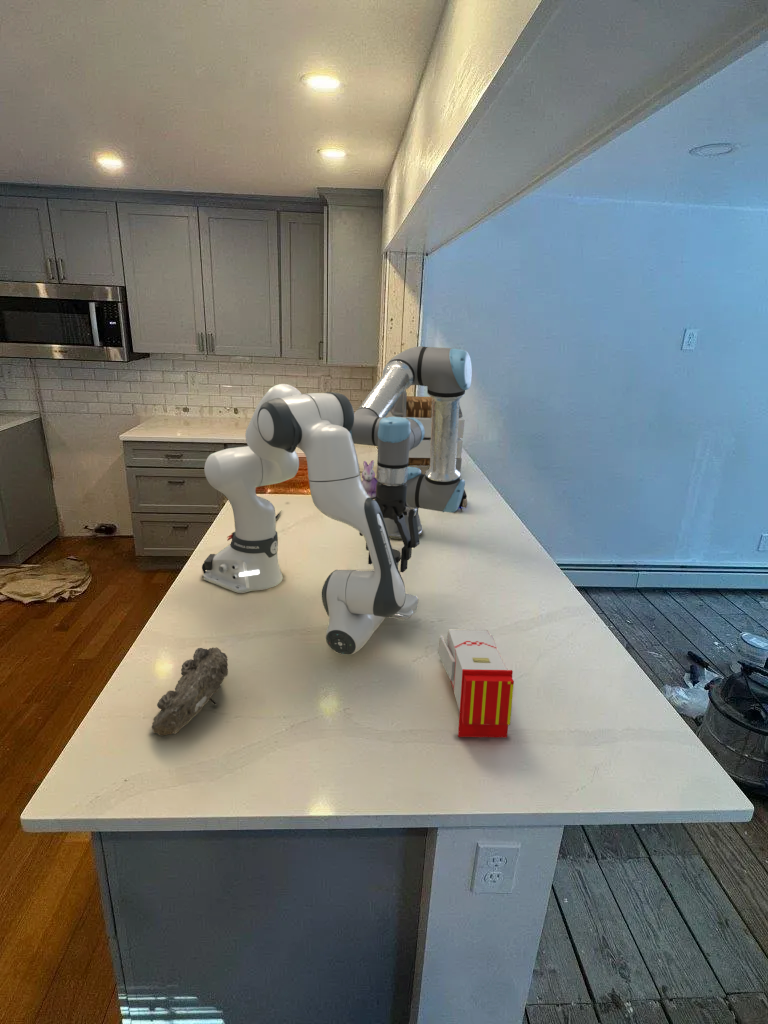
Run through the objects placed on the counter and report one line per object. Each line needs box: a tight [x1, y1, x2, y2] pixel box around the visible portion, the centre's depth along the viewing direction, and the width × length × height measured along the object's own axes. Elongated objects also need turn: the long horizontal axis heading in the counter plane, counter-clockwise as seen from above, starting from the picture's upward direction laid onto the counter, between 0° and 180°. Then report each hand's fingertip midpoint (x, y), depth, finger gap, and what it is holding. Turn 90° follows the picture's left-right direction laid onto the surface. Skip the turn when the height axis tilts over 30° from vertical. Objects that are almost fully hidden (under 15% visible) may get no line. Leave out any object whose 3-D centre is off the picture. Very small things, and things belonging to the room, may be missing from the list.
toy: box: [437, 628, 515, 738], centre depth 117 cm, size 12×13×30 cm
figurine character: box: [457, 489, 468, 512], centre depth 228 cm, size 7×8×15 cm
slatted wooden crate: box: [386, 389, 465, 475], centre depth 268 cm, size 34×33×41 cm
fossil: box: [152, 646, 229, 736], centre depth 110 cm, size 22×10×15 cm
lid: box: [392, 548, 401, 563], centre depth 145 cm, size 6×6×2 cm
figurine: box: [361, 460, 378, 499], centre depth 236 cm, size 9×10×15 cm
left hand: (387, 586), depth 149 cm, fingers closed on jar, 5 cm apart
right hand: (387, 566), depth 146 cm, fingers open, 8 cm apart
